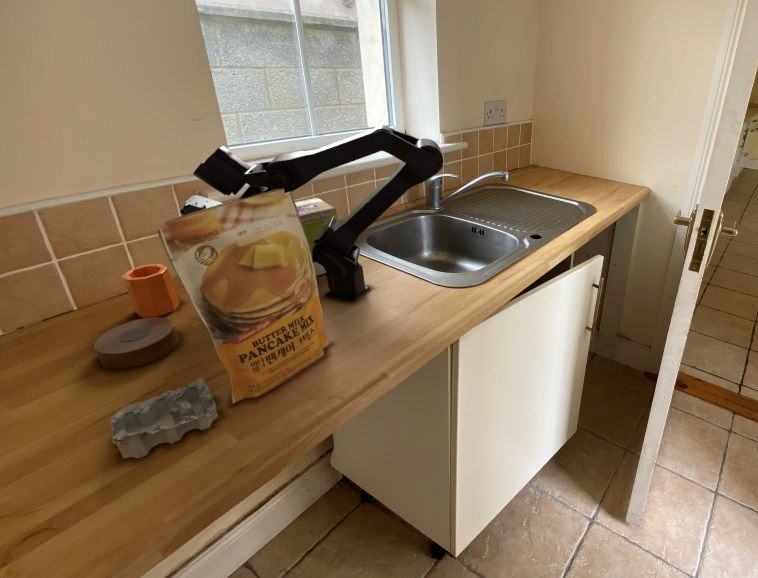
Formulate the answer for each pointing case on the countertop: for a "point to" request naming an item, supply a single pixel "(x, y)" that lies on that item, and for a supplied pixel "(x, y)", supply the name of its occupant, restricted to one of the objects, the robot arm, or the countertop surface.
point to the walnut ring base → (136, 343)
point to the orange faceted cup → (151, 290)
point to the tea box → (315, 222)
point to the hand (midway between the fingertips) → (199, 269)
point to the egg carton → (162, 419)
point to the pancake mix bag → (251, 287)
